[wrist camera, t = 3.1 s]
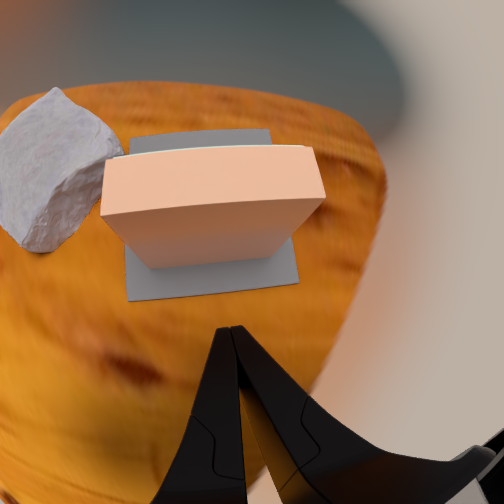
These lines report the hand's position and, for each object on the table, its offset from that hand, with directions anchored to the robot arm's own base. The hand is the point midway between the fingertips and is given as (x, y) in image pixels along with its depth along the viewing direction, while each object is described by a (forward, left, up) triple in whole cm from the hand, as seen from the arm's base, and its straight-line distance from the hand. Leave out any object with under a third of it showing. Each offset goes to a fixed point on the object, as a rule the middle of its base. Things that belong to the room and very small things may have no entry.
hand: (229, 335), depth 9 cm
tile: (+5, 0, -6) cm, 8 cm away
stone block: (+12, +12, -7) cm, 18 cm away
